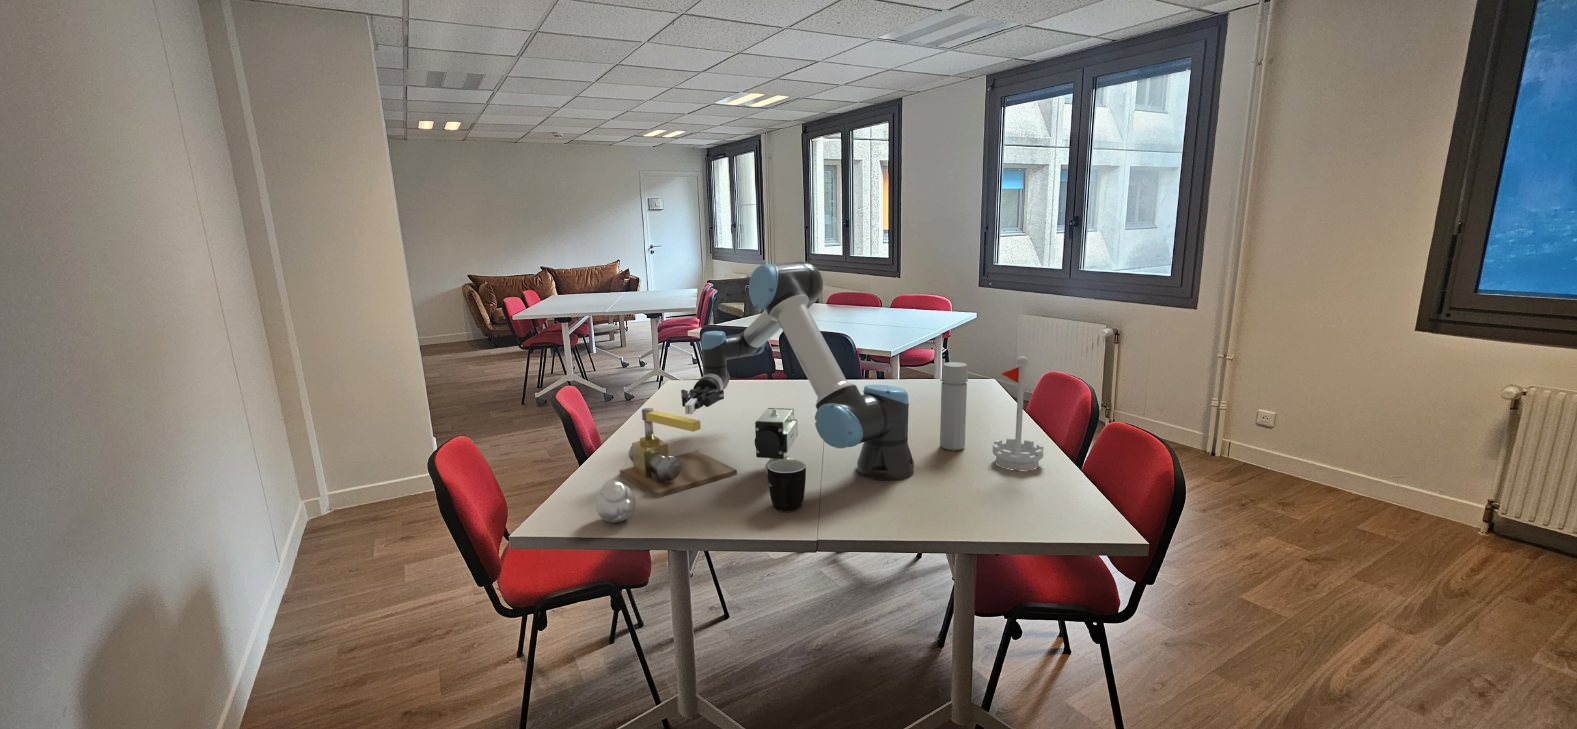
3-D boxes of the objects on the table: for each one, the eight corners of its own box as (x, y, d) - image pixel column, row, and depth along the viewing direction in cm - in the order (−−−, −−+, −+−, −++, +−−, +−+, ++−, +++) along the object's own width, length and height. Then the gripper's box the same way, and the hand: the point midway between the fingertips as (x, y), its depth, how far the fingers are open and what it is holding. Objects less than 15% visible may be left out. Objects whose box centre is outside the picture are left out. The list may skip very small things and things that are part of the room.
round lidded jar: (589, 529, 146) (585, 487, 144) (606, 511, 156) (603, 471, 154) (628, 531, 145) (624, 488, 143) (643, 513, 154) (640, 472, 152)
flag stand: (1044, 459, 184) (1050, 353, 178) (1040, 475, 172) (1047, 362, 166) (995, 453, 189) (1000, 350, 183) (988, 469, 177) (993, 359, 171)
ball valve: (787, 486, 168) (785, 419, 165) (754, 484, 170) (752, 418, 167) (801, 462, 186) (799, 400, 182) (771, 460, 187) (769, 399, 184)
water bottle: (967, 452, 191) (970, 367, 186) (939, 451, 192) (941, 366, 187) (964, 441, 200) (966, 360, 195) (937, 441, 201) (939, 360, 196)
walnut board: (656, 497, 163) (655, 493, 163) (620, 474, 179) (619, 470, 179) (737, 474, 178) (736, 469, 177) (697, 454, 194) (696, 450, 193)
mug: (771, 498, 161) (770, 458, 159) (808, 499, 160) (807, 459, 158) (763, 519, 150) (762, 477, 148) (803, 520, 149) (802, 478, 147)
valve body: (658, 486, 167) (655, 432, 164) (628, 468, 180) (625, 418, 177) (682, 479, 171) (679, 427, 168) (652, 462, 184) (649, 413, 182)
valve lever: (640, 419, 174) (639, 409, 173) (648, 416, 176) (648, 407, 176) (692, 432, 162) (692, 421, 162) (701, 428, 165) (700, 418, 164)
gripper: (730, 400, 201) (713, 423, 178) (687, 400, 202) (665, 422, 179) (729, 376, 199) (712, 396, 176) (686, 376, 201) (663, 395, 178)
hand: (688, 409), depth 178 cm, fingers closed
